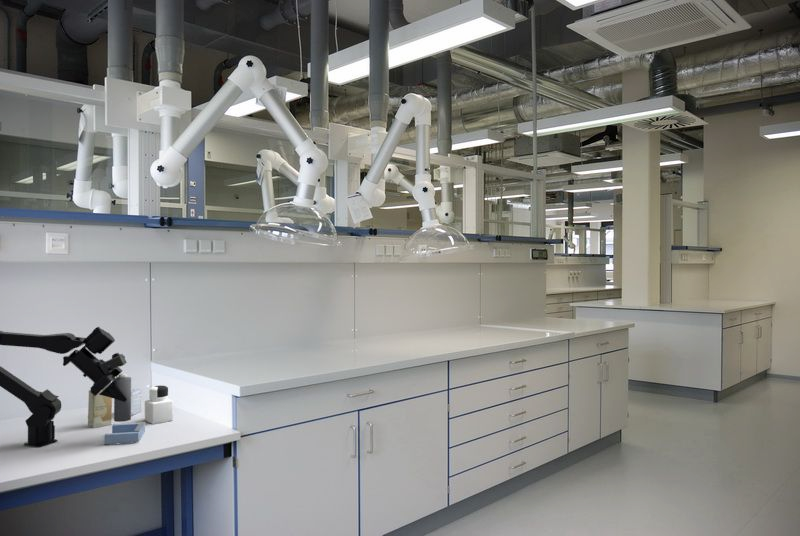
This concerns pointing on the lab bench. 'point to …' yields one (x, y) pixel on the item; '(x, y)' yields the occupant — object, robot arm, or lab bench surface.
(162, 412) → the medicine bottle
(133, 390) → the medicine box
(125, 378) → the grey cylindrical bottle
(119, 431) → the socket cradle
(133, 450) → the lab bench surface
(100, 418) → the skincare box
